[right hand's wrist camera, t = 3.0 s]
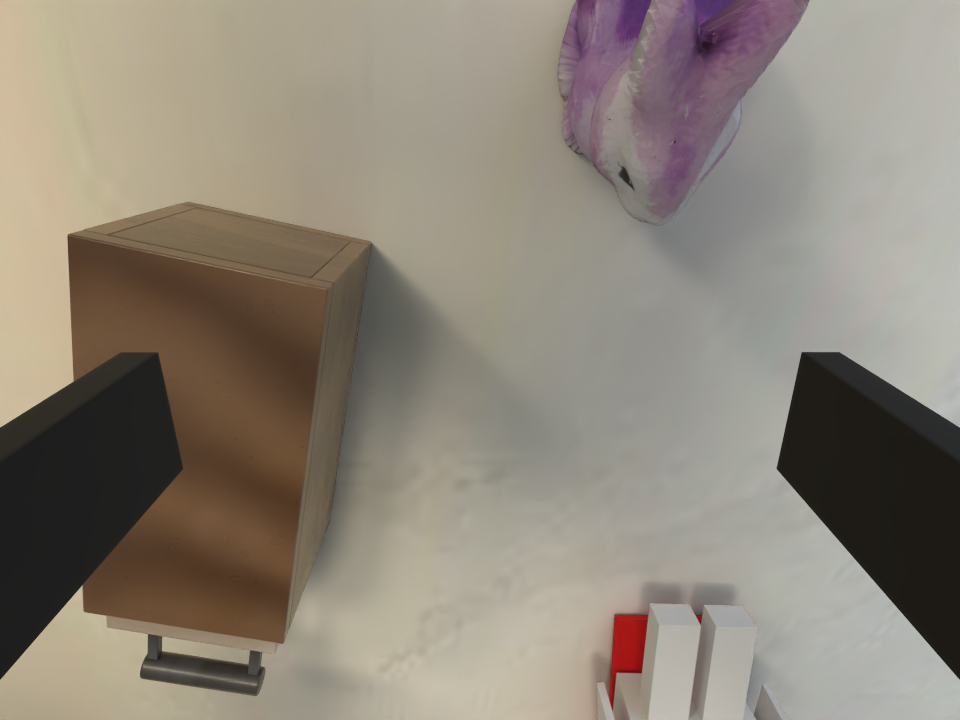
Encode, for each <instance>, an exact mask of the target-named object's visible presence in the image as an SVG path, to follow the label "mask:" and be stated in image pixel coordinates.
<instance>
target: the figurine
mask: <svg viewBox="0 0 960 720" xmlns="http://www.w3.org/2000/svg"><path fill="white" fill-rule="evenodd" d="M808 3H809V0H576V2H575V4H574V6H573V8H572V11H571V15H570V18H569V22H568V25H567V29H566V32H565V36H564V39H563V43H562V47H561V53H560V58H559V65H558V78H559V88H560V93H561V96H564V100H565V105H564V120H563V135H564V139H565V142H566V144H567V145H568V146H571V148H572V149H573V150H574V151H577V152H579V153H583V154H584V155H585V157H586V158H587V159H588V160H589V161H591V162H592V163H593V164H594V166H595V168H596V169H597V170H598V172H599V173H600V174H601V175H602V176H603V177H604V178H606V179H607V180H609V181H610V182H611V183H612V185H613V186H614V188H615V190H616V192H617V194H618V197H619V199H620V202H621V204H622V205H623V207H624V209H625V210H626V212H627V213H628V214H629V215H631V216H632V217H633V218H635V219H637V220H639V221H641V222H647V223H650V224H653V225H663V224H665V223H667V222H669V221H670V220H671V219H673V217H674V216H675V215H676V214H677V213H678V212H679V211H680V209H681V208H682V207H683V206H684V205H685V204H686V202H687V201H688V199H689V198H690V196H691V195H692V193H693V192H694V191H695V189H696V188H697V187H698V186H699V184H700V183H701V182H702V181H703V179H704V178H705V176H706V175H707V174H708V173H709V172H710V170H711V169H712V168H713V167H714V166H715V165H716V163H717V162H718V161H719V160H720V159H721V157H722V156H723V155H724V153H725V152H726V150H727V149H728V147H729V146H730V144H731V143H732V141H733V139H734V137H735V135H736V133H737V131H738V128H739V125H740V119H741V98H742V97H743V96H744V95H745V93H746V91H747V90H748V89H749V88H750V87H752V85H753V84H754V83H755V82H756V81H757V79H758V77H759V76H760V75H761V74H762V73H763V72H764V71H765V69H766V67H767V66H768V65H769V64H770V63H771V62H772V60H773V59H774V57H775V56H776V55H777V53H778V51H779V50H780V48H781V47H782V46H783V45H784V44H785V42H786V41H787V39H788V38H789V36H790V35H791V33H792V32H793V30H794V29H795V27H796V26H797V24H798V23H799V21H800V20H801V17H802V16H803V14H804V12H805V10H806V8H807V6H808Z"/></svg>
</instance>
